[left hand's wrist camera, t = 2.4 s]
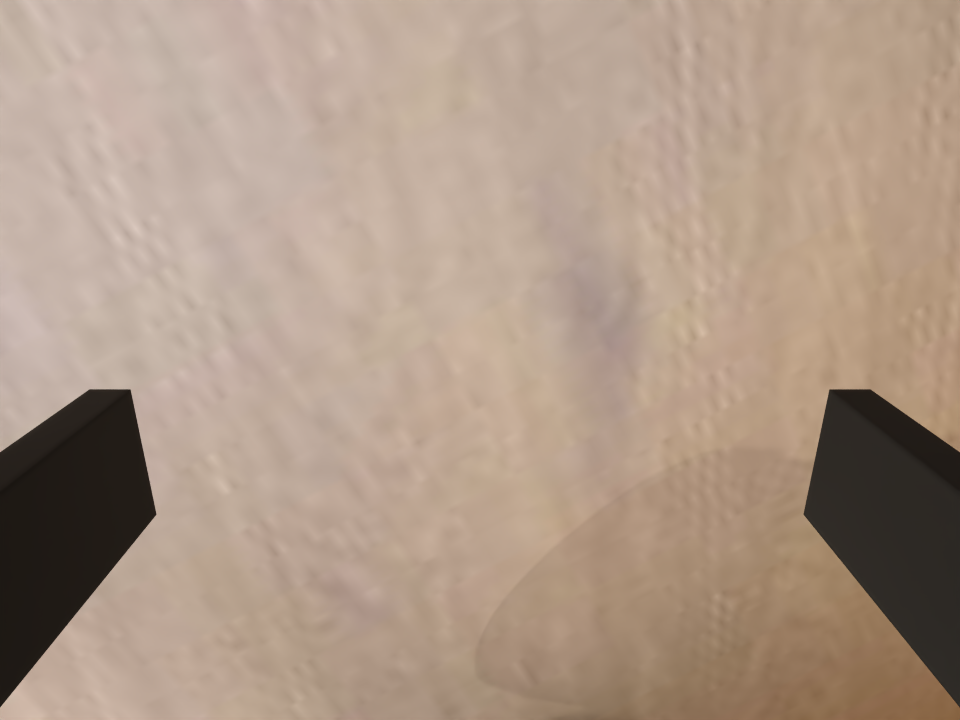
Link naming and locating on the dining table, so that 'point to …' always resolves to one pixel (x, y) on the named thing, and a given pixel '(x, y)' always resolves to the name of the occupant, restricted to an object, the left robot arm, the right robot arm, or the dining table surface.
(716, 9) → the dining table surface
